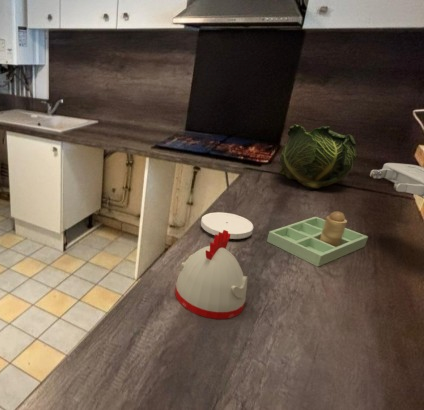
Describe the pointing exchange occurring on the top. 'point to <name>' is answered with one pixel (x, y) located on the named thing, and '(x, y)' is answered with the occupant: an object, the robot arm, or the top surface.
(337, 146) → the cabbage
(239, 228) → the plastic lid
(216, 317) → the kitchen timer
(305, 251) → the grid
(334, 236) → the beige toy figure
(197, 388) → the top surface
